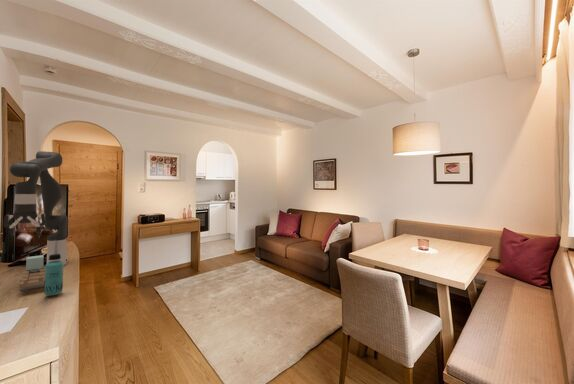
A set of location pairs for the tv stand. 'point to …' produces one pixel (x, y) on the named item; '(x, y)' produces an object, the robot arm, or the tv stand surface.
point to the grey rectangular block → (34, 263)
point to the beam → (32, 279)
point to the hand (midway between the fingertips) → (25, 234)
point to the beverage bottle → (53, 276)
